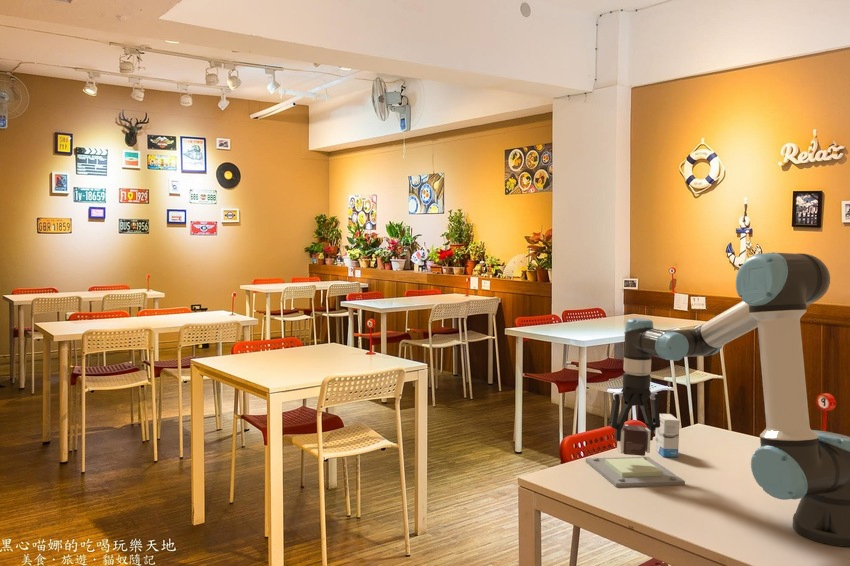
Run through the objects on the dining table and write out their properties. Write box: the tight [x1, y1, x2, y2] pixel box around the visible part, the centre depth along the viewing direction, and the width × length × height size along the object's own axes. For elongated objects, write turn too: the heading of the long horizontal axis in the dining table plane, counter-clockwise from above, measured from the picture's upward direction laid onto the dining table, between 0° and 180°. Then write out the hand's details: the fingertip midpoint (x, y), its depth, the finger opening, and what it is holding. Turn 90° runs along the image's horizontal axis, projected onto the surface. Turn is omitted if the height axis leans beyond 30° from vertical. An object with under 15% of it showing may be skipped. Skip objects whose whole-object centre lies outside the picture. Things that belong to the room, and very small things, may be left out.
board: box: [584, 456, 686, 488], centre depth 203 cm, size 22×20×2 cm
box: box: [622, 424, 646, 457], centre depth 203 cm, size 6×6×7 cm
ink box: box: [654, 413, 680, 458], centre depth 222 cm, size 8×5×12 cm, turn 179°
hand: (633, 451), depth 203 cm, fingers closed on box, 7 cm apart
